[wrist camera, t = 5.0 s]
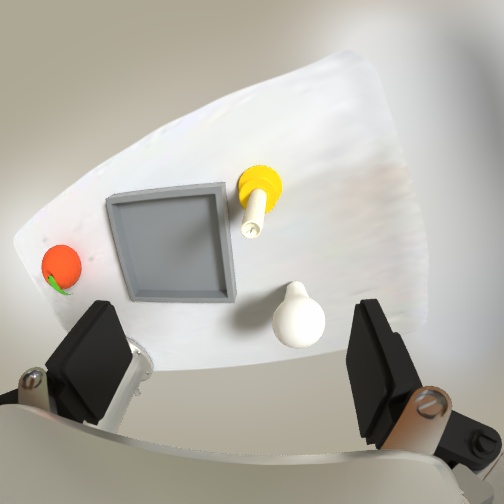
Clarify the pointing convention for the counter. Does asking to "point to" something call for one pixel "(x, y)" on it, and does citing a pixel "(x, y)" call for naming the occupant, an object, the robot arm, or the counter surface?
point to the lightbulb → (298, 318)
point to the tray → (175, 243)
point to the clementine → (61, 267)
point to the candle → (258, 197)
